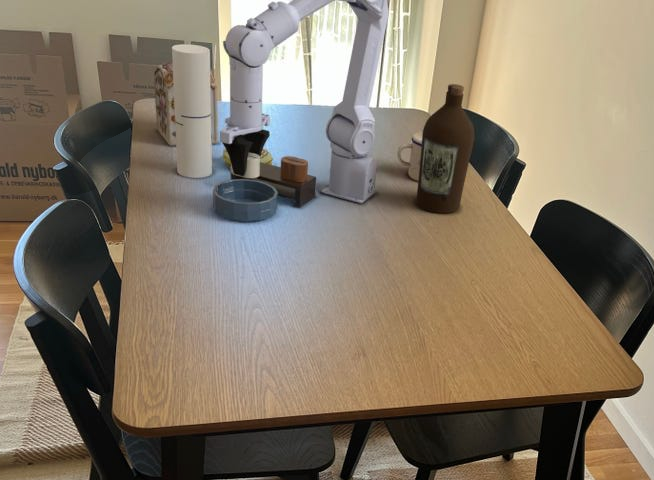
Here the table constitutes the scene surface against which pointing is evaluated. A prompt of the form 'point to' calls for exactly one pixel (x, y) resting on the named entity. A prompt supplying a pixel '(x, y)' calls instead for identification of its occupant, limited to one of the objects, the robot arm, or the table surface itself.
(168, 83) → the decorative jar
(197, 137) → the cylindrical container
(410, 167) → the teacup with lid
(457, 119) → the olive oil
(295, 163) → the brown rounded block
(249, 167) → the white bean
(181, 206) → the table surface
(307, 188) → the rack
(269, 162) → the decorated donut
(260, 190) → the bowl
